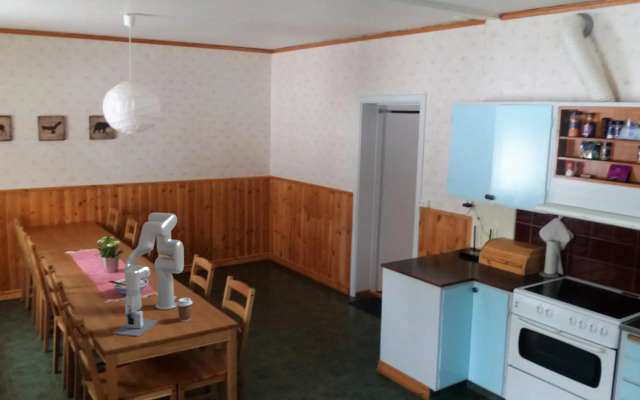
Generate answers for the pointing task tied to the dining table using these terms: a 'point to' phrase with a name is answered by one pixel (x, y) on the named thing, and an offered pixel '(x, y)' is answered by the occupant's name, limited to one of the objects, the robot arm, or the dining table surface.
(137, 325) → the medicine box
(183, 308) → the coffee cup
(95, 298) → the dining table surface
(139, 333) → the mat
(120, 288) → the ramen bowl
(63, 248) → the dining table surface
